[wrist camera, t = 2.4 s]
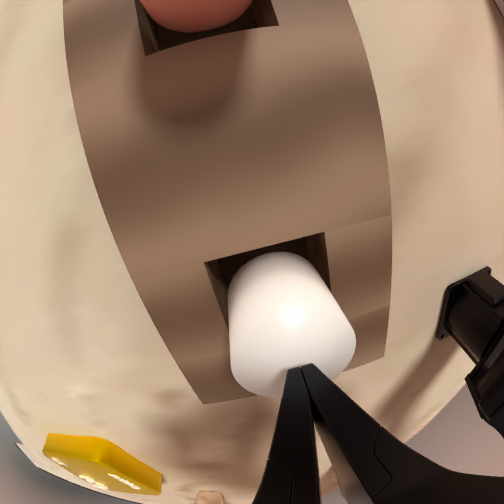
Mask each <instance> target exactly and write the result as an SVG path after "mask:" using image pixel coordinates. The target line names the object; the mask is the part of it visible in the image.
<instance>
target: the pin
mask: <svg viewBox="0 0 504 504" xmlns="http://www.w3.org/2000/svg"><path fill="white" fill-rule="evenodd" d="M228 319H229V341H230V360H231V371H232V373H233V376H234V378H235V380H236V381H237V382H238V383H239V384H240V385H241V386H242V387H243V388H244V389H246V390H248V391H249V392H252V393H254V394H257V395H260V396H264V397H271V398H282V394H283V389H284V384H285V379H286V374H287V370H288V369H290V368H294V367H301V366H302V365H305V364H308V363H313V364H314V365H316V366H317V367H318V368H319V369H320V370H321V371H322V372H323V373H324V374H325V375H326V376H327V377H328V378H329V379H330V380H331V381H332V380H334V379H335V378H336V377H337V376H338V375H340V374H341V373H342V372H343V370H344V369H345V368H346V367H347V365H348V364H349V362H350V361H351V359H352V357H353V355H354V351H355V347H356V337H355V333H354V330H353V328H352V327H351V325H350V323H349V322H348V320H347V318H346V317H345V315H344V313H343V312H342V310H341V308H340V307H339V305H338V303H337V302H336V300H335V299H334V297H333V295H332V294H331V292H330V291H329V289H328V287H327V286H326V284H325V283H324V281H323V280H322V278H321V276H320V275H319V273H318V272H317V270H316V269H315V267H314V266H313V265H312V264H311V263H310V262H309V261H308V260H306V259H305V258H303V257H301V256H299V255H296V254H293V253H289V252H271V253H266V254H263V255H259V256H257V257H255V258H253V259H251V260H250V261H248V262H247V263H245V264H244V265H243V266H242V267H241V268H240V269H239V270H238V271H237V272H236V274H235V275H234V276H233V278H232V280H231V282H230V285H229V289H228Z"/></svg>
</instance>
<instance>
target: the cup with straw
mask: <svg viewBox="0 0 504 504" xmlns="http://www.w3.org/2000/svg"><path fill="white" fill-rule="evenodd" d="M221 494H222V493H220V492H216V491H200V492H198V497H197V503H196V504H224V503H223V498H222V497H221Z"/></svg>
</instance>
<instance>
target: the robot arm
mask: <svg viewBox="0 0 504 504" xmlns="http://www.w3.org/2000/svg"><path fill="white" fill-rule="evenodd" d="M490 274H491V268H490V267H488V266H487V267H485V268H483V269H481V270H479V271H477V272H475V273H473V274H471V275H469V276H467V277H465V278H463V279H461V280H459V281H457V282H455V283H453V284H451V285H450V286H449V287H448V289H447V293H446V298H445V303H444V308H443V312H442V317H441V321H440V325H439V329H438V333H437V338H438V339H439V340H442V339H444V338H446V337H447V336H449V335H451V336H452V337H453V338H454V339H455V341H456V342H457V343H458V344H459V345H460V346H461V348H462V349H463V350H464V351H465V352H466V353H467V355H468V356H469V357H470V358H471V359H472V361H473V362H474V363H475V364H476V366H475V367H474V369H473V370H472V371H471V372H470V373H469V374H468V375H467V376H466V377H465V381H466V383H467V385H468V388H469V391H470V393H471V395H472V397H473V400H474V402H475V405H476V407H477V410H478V412H479V415H480V417H481V418H482V419H484V420H485V421H486V422H487V423H488V424H489V425H491V426H492V427H494V428H495V429H496V430H497V431H498V432H499V433H500V434H501V435H502V437H503V438H504V285H503V284H501V283H500V282H499V281H498V280H496V279H495V278H494V277H492V276H491V275H490ZM313 421H314V422H313ZM314 424H315V426H316V429H317V431H318V434H319V436H320V438H321V440H322V443H323V445H324V447H325V450H326V452H327V454H328V457H329V459H330V461H331V463H332V466H333V468H334V470H335V473H336V475H337V477H338V479H339V482H340V484H341V486H342V488H343V491H344V493H345V495H346V497H347V500H348V502H349V504H504V477H495V476H483V475H474V474H465V473H459V472H455V471H451V470H449V469H446V468H444V467H442V466H440V465H438V464H436V463H434V462H433V461H431V460H429V459H428V458H426V457H424V456H422V455H421V454H419V453H417V452H416V451H414V450H413V449H411V448H410V447H408V446H406V445H405V444H404V443H402V442H401V441H399V440H398V439H397V438H395V437H394V436H393V435H392V434H390V433H389V432H388V431H387V430H386V429H385V428H384V427H382V426H380V424H379V423H378V422H377V421H375V420H374V419H373V418H372V417H371V416H370V415H369V414H368V413H366V412H365V411H364V410H363V409H362V408H361V407H360V406H359V405H358V404H356V403H355V402H354V401H353V400H352V399H351V398H350V397H349V396H348V395H347V394H345V393H344V392H343V391H342V390H341V389H340V388H339V387H338V386H337V385H336V384H335V383H334V382H332V381H331V380H330V379H329V378H328V377H327V376H326V375H325V374H324V373H323V372H322V371H321V370H320V369H319V368H318V367H317V366H316V365H314V364H313V363H308V364H305V365H302V366H301V367H294V368H290V369H288V370H287V374H286V379H285V384H284V389H283V394H282V399H281V404H280V408H279V413H278V417H277V422H276V426H275V431H274V435H273V439H272V444H271V448H270V452H269V456H268V458H269V459H268V460H267V463H266V467H265V471H264V474H263V477H262V481H261V484H260V486H259V489H258V491H257V494H256V496H255V498H254V500H253V503H252V504H322V502H321V489H320V478H319V467H318V457H317V447H316V438H315V430H314Z"/></svg>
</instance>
